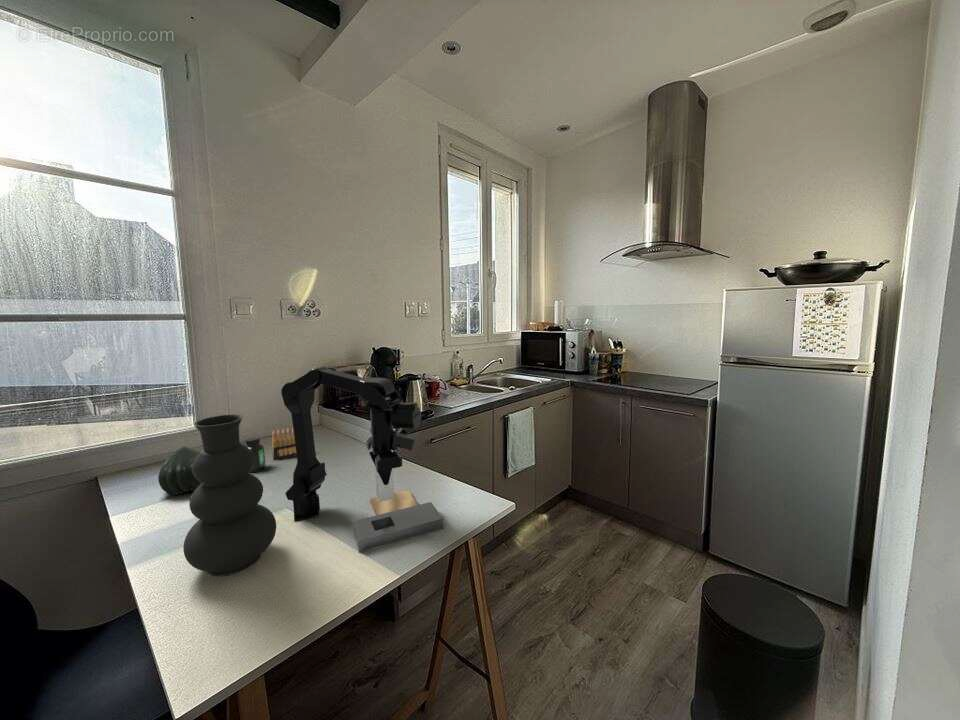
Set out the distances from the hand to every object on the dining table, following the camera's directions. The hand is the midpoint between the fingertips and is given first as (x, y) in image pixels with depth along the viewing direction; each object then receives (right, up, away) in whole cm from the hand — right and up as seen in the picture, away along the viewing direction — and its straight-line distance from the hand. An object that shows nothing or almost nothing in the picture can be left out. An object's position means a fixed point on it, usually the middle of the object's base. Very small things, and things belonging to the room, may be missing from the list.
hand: (384, 481), depth 106 cm
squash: (-72, -11, +25) cm, 77 cm away
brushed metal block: (0, -5, +1) cm, 4 cm away
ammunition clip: (-52, -7, +52) cm, 74 cm away
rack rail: (+4, -13, -1) cm, 13 cm away
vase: (-32, -15, -13) cm, 38 cm away
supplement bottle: (-59, -8, +40) cm, 72 cm away
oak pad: (0, -11, +11) cm, 16 cm away
